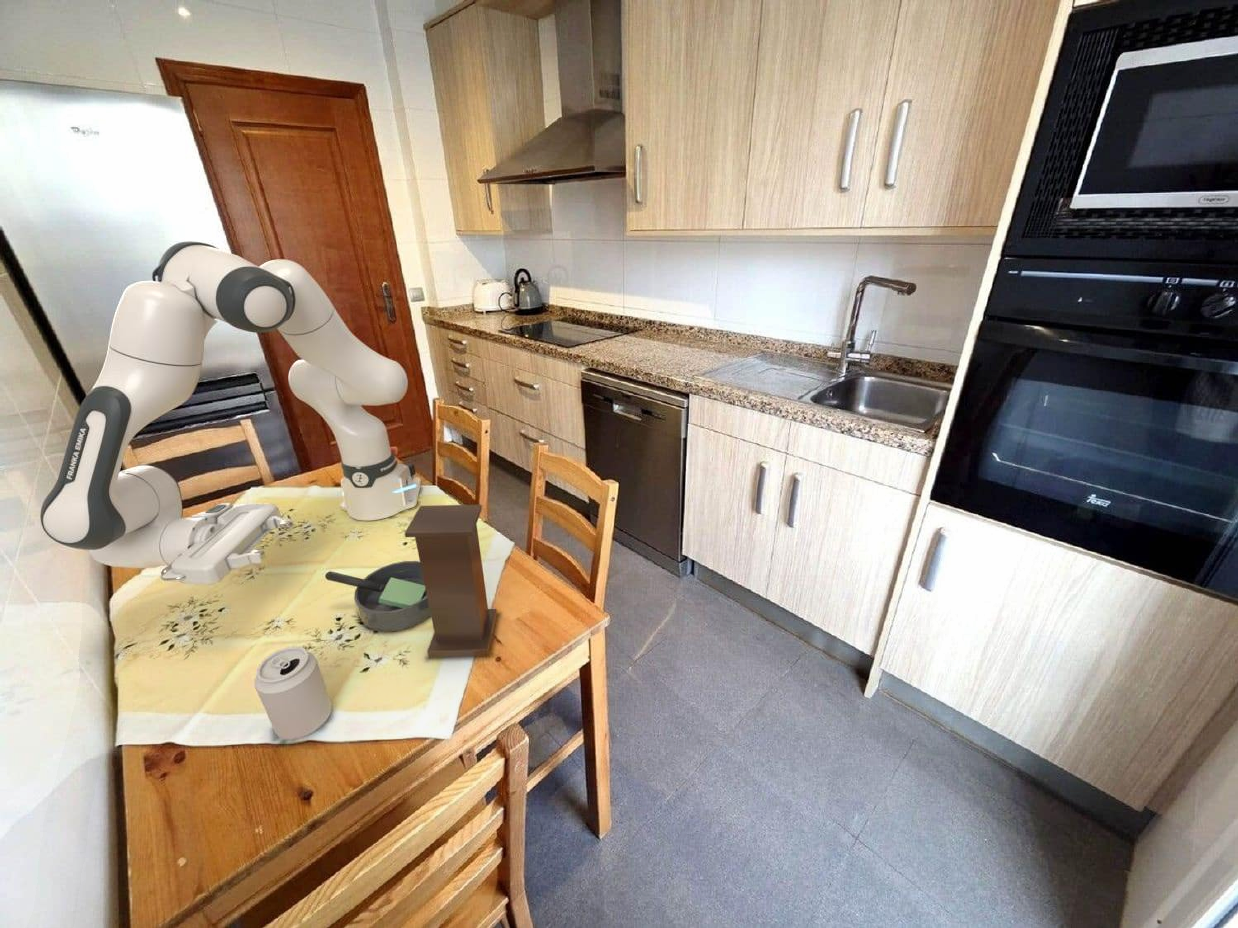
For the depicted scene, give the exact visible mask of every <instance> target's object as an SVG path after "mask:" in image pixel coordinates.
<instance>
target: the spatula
mask: <svg viewBox="0 0 1238 928" xmlns="http://www.w3.org/2000/svg"><path fill="white" fill-rule="evenodd" d="M324 577H325V579H326V580H327V581H330V582H335V583H339V584H342V585H343V584H344V585H348V586H352V587H356V588H357V587H360V588H364V589H368V590H372V591H377V592H383V593H382V594H381V596H380V598H379V603H382V604H386V605H391V606H395V607H399V608H405V607H408V606H410V605H412V604H415V603H417V602H418V601H420V600H421V599H422V598H423V596H424V593H425V591H426V589H425V586H424V585H420V584H416V583H412V582H408V581H404V580H400V579H396V578H392V577H391V578H390V580H389V582H388V584H387V585H386V587H385V585H384V584H381V583H377V582H373V581H369V580H365V579H364V578H360V577H357V576H352V575H347V574H344V573H339V572H336V571H327V572H326V573H325V575H324Z"/></svg>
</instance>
